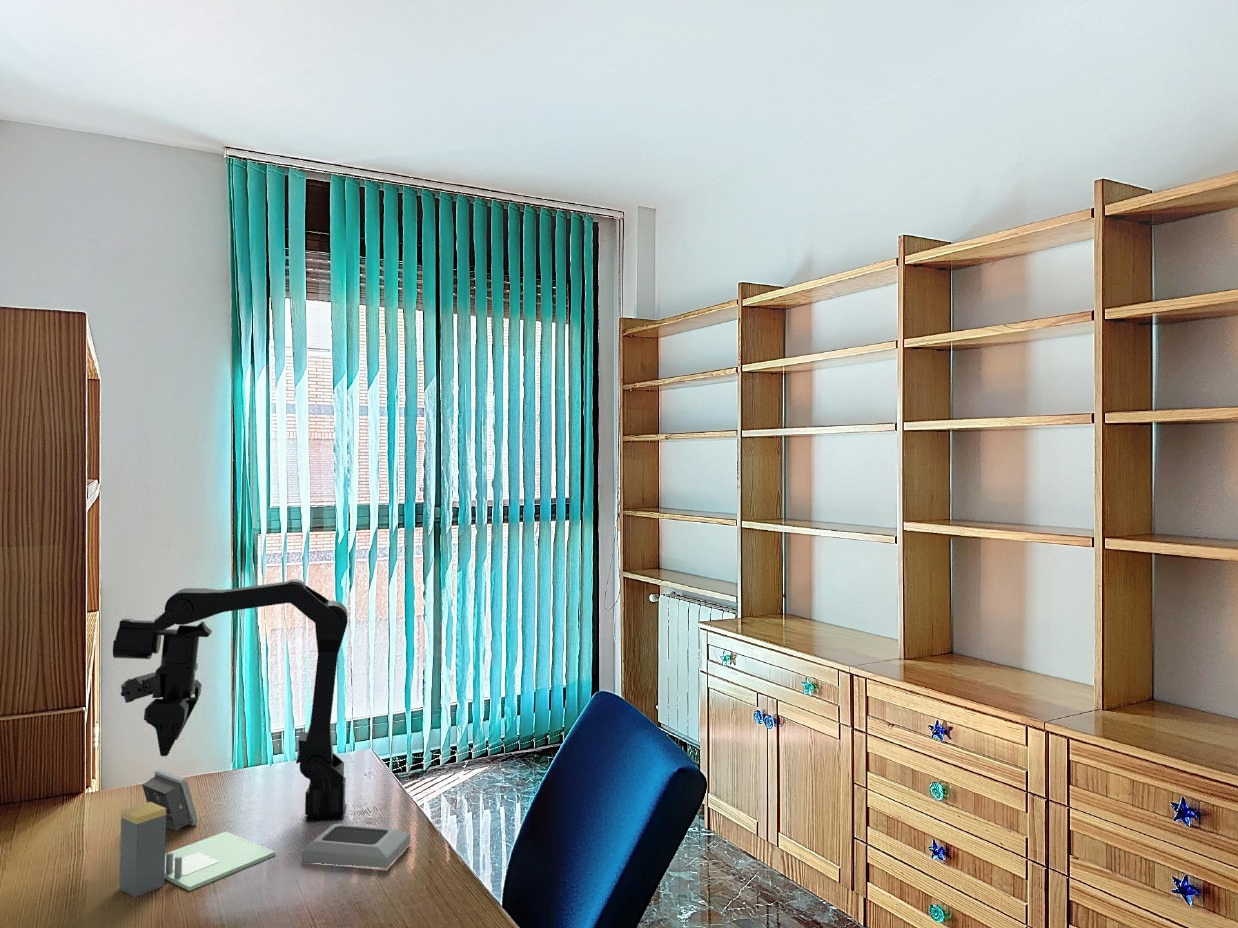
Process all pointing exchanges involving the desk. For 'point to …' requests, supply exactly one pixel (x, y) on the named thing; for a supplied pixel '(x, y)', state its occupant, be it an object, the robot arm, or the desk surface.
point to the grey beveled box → (356, 846)
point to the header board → (212, 860)
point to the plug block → (142, 848)
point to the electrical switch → (171, 799)
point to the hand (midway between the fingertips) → (169, 747)
